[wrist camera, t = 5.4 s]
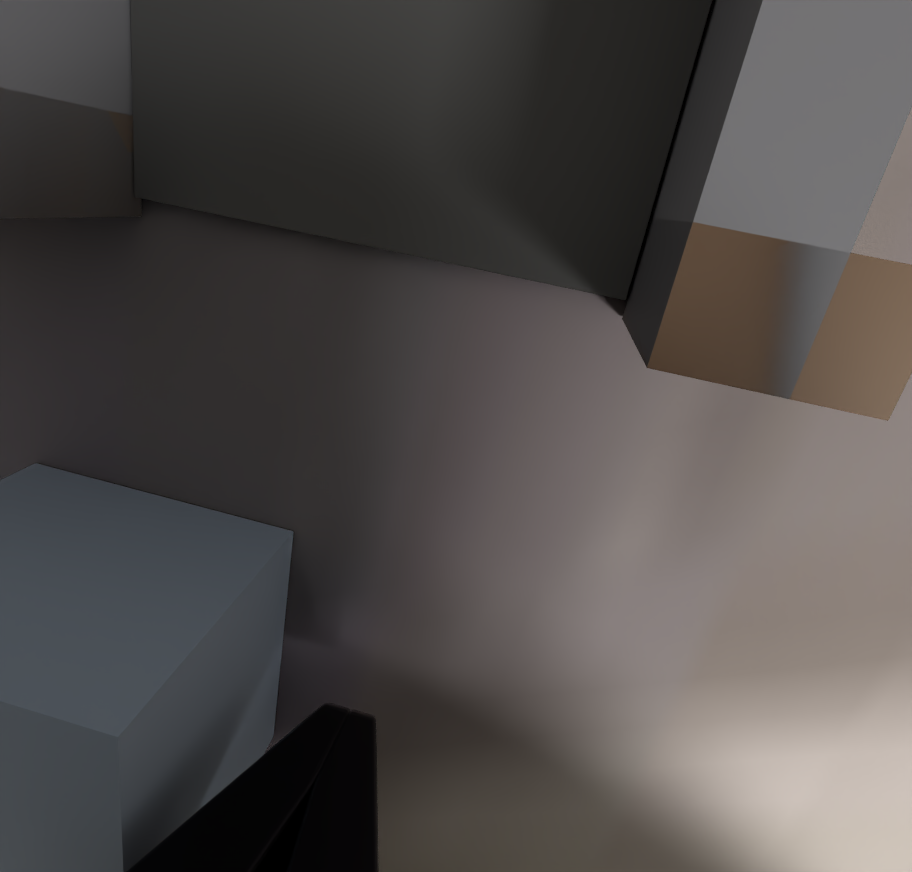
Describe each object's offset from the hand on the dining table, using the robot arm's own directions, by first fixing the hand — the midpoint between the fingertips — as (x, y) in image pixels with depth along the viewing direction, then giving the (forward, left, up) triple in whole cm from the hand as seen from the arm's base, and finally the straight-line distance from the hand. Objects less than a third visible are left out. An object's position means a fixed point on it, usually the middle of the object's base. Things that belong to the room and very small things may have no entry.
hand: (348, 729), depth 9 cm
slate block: (+4, 0, -1) cm, 4 cm away
